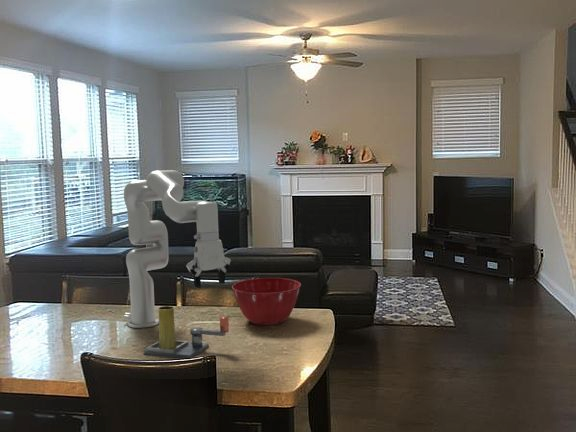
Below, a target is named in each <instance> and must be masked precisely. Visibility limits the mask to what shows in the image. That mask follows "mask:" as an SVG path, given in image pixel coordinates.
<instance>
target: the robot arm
mask: <svg viewBox="0 0 576 432" xmlns="http://www.w3.org/2000/svg"><path fill="white" fill-rule="evenodd" d="M184 185H185V178H184V176H183V175H182V173H181V172H180V171H178V170H175V169H174V170H173V169H167V170H153V171H151V172H150V173H148V175H147V176H146V179H141V180H139V179H138V180H133V181H130V182H128V183H127V184H126V185H125V187H124V190H123V199H124V200H123V201H124V203H125V207H126V211H127V225H128V238H129V242H130V244H132V245H134V246H143V245H144V246H145V245H152V246H148V247H147V246H146V247H139V248H134V249H131V250H130V251H128V253H126V256H125V257H126V258H125V263H126V267H127V272H128V277H129V294H130V295H129V298H130V299H129V300H130V312H125V313H124V315H123V319H126V320H128V321H127V326H128V327H130V328H135V329H145V328H150V327H151V328H152V327H155V326H157V325H159V318H156V312H155V311H156V310H155V290H154V289H155V288H154V286H155V285H154V279H153V277H152V276H151V275H150V274H149V272H148V271H153V270H159V269H163V268H165V267H166V266H167V265H168V263H169V234H168V229H167V225H166V224H165V223H164V221H161V220H158V219H156V220H151V219H150V210H149V207H148V206H147V205H146V203H145V202H156V201H157V202H158V201H161V203H162V204H161V205H162V209H163V212H164V213H165V215H166V216H167V217H168V218H169V219H170V220H172V221H174V222H176V223H178V224H184V223H185V224H186V223H196V234H195V235H193V238H194V240H196V241H195V246H194V250H193V251H194V254H193V257H194V258H193V259H192V260H191V261H189V262H188V263H187V264H186V265H185V266H186V268H187V270H188V272H189V273H190V274H191V275H192V276H193V285H194V287H195V288H198V289H200V288H201V287H202V284H201V280H202V279H201V276H200V274H201V273H202V272H203V271H212V270H218V283H219V284H221V285H222V284H223V285H225V284H226V282H225V281H226V273H227V270H228V269H229V267H230V264H231V261H232V260H231V258H229V257H227V256H225V254H224V253H225V252H224V247H223V242H222V240H221V239H220V238H219V237H220V235H219V213H218V211H219V210H218V209H219V208H218V204H217V202H215V201H206V200H188V201H182V199H183V197H184ZM193 266H194V268H193Z"/></svg>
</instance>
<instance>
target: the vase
mask: <svg viewBox="0 0 576 432" xmlns="http://www.w3.org/2000/svg"><path fill="white" fill-rule="evenodd" d="M174 308H175V307H174V306H173V305H165V306H160V307H158V320H159V323H158V330H159V331H158V334H159V335H158V338H159V339H158V341H159V348H162V349H173V348H175V347H176V340H177V339H176V330H175V329H176V327H175V313H174V312H175V310H174Z"/></svg>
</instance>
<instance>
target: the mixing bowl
mask: <svg viewBox="0 0 576 432" xmlns="http://www.w3.org/2000/svg"><path fill="white" fill-rule="evenodd" d="M301 286H302V284H301V282H300V281H298V280H295V279H291V278H283V277H258V278H249V279H244V280H241V281H237V282H235V283H234V284H233V285H231V288H232V290H233V293H234V296H235V300H236V303H237V305H238V308H239V309H240V311H241V313H242V314H243V316H244V317H245V318H246V319H247V320H248V322H251V323H252V324H254V325H258V326H274V325H278V324H281V323H283V322H284V321H286V320H287V319H288V318H289V317H290V316H291V313H292V312H293V309H294V308H295V305H296V303H297V300H298V296H299V293H300V288H301Z"/></svg>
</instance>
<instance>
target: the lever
mask: <svg viewBox="0 0 576 432" xmlns="http://www.w3.org/2000/svg"><path fill="white" fill-rule="evenodd" d="M229 325H230V324H229V316H220V317H219V330H217V329H207V328H206V329H205V328H202V327H193V328H190V331H189V333H190V335H191V336H192V335H201V334H202V335H207V336H218V337H224V336H226V334H227V333H229V332H230V327H229Z"/></svg>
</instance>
